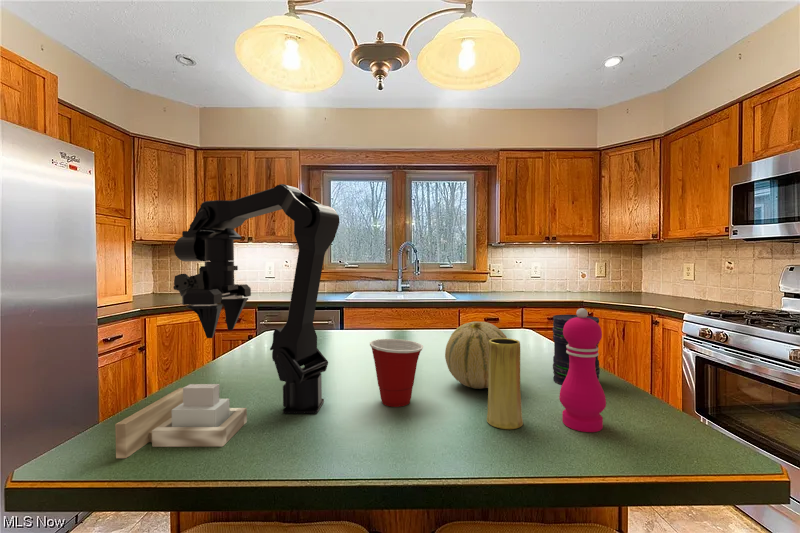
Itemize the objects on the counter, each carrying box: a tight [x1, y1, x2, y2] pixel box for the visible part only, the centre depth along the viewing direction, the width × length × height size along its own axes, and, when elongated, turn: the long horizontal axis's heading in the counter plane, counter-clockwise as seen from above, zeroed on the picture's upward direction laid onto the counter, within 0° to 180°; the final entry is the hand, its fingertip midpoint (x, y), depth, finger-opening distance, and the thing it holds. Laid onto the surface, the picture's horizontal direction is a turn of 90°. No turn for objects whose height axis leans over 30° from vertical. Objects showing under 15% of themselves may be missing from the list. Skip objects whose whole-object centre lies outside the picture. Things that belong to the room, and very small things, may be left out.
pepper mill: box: [558, 307, 607, 433], centre depth 66 cm, size 7×7×20 cm
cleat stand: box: [114, 387, 248, 459], centre depth 64 cm, size 14×16×5 cm
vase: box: [486, 337, 524, 430], centre depth 67 cm, size 6×6×14 cm
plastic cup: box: [369, 338, 424, 408], centre depth 77 cm, size 11×11×12 cm
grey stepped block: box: [172, 383, 231, 427], centre depth 64 cm, size 7×5×8 cm
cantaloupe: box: [444, 321, 508, 390], centre depth 86 cm, size 15×15×15 cm
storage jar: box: [552, 314, 601, 386], centre depth 89 cm, size 10×10×15 cm
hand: (220, 333), depth 83 cm, fingers open, 9 cm apart
